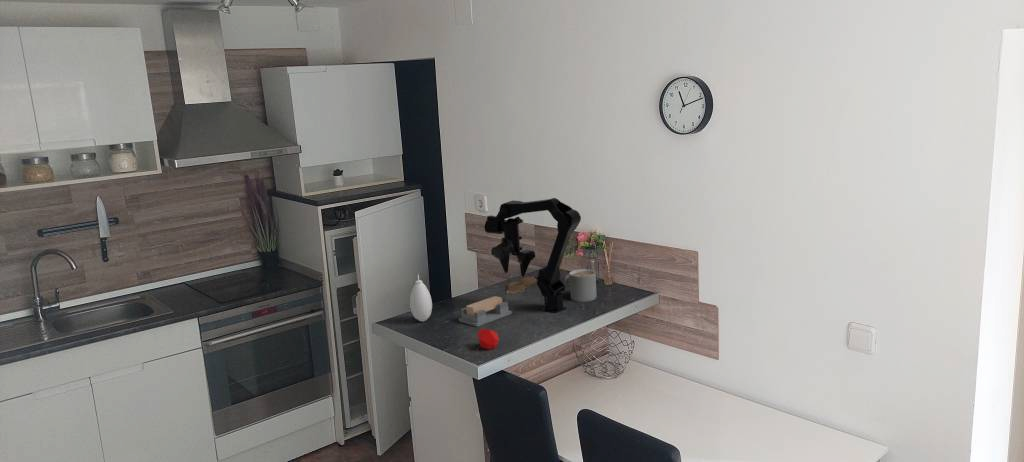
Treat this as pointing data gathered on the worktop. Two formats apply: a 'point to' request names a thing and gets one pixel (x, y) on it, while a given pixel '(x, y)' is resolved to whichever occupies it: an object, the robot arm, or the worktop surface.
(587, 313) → the worktop surface
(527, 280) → the wooden fragment
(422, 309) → the white air blower bulb
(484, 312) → the grey cradle stand
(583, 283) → the coffee mug
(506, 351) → the worktop surface
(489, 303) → the clay bar
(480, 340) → the apple
